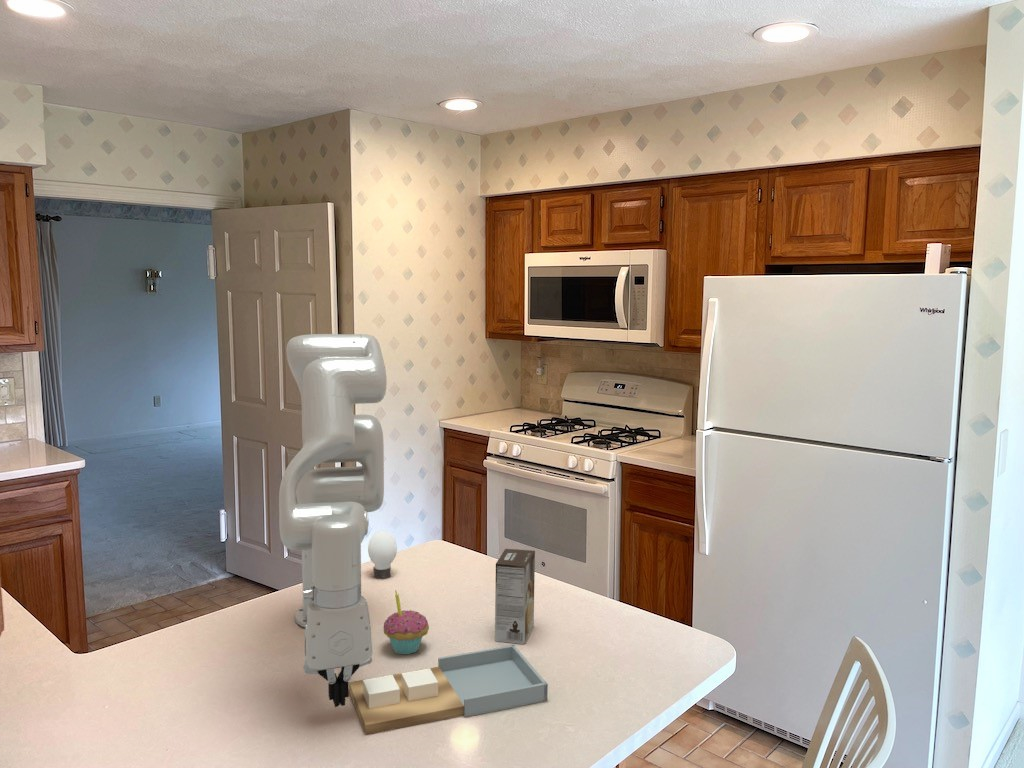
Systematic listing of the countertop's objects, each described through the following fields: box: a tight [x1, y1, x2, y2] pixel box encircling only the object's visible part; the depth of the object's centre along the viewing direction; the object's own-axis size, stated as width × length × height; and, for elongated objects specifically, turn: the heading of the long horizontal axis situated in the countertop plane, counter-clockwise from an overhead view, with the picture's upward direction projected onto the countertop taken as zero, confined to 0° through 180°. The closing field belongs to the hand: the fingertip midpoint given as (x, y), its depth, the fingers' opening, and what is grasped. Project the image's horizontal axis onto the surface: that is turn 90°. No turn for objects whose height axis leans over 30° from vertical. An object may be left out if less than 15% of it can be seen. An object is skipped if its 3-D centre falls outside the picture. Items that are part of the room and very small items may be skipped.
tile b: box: [400, 667, 438, 701], centre depth 133 cm, size 5×5×2 cm
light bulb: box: [367, 530, 398, 580], centre depth 187 cm, size 7×7×11 cm
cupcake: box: [383, 590, 430, 655], centre depth 151 cm, size 9×8×12 cm
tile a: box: [362, 674, 400, 709], centre depth 130 cm, size 5×5×2 cm
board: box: [349, 666, 464, 736], centre depth 132 cm, size 14×16×2 cm
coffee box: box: [494, 548, 536, 645], centre depth 158 cm, size 9×6×16 cm
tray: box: [437, 644, 549, 718], centre depth 138 cm, size 15×15×3 cm
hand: (338, 701), depth 128 cm, fingers closed
